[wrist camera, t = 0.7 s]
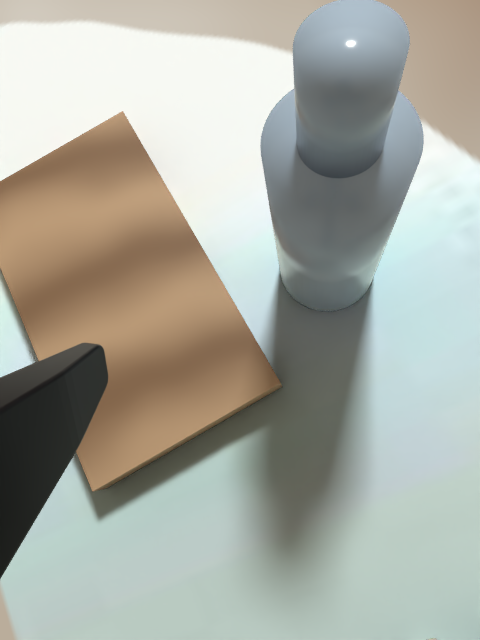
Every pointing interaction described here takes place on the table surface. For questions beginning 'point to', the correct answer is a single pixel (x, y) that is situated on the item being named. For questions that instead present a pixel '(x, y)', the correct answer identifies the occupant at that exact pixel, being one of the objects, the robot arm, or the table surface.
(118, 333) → the walnut board
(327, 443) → the table surface
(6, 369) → the table surface
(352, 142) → the slate-blue bottle
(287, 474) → the table surface
